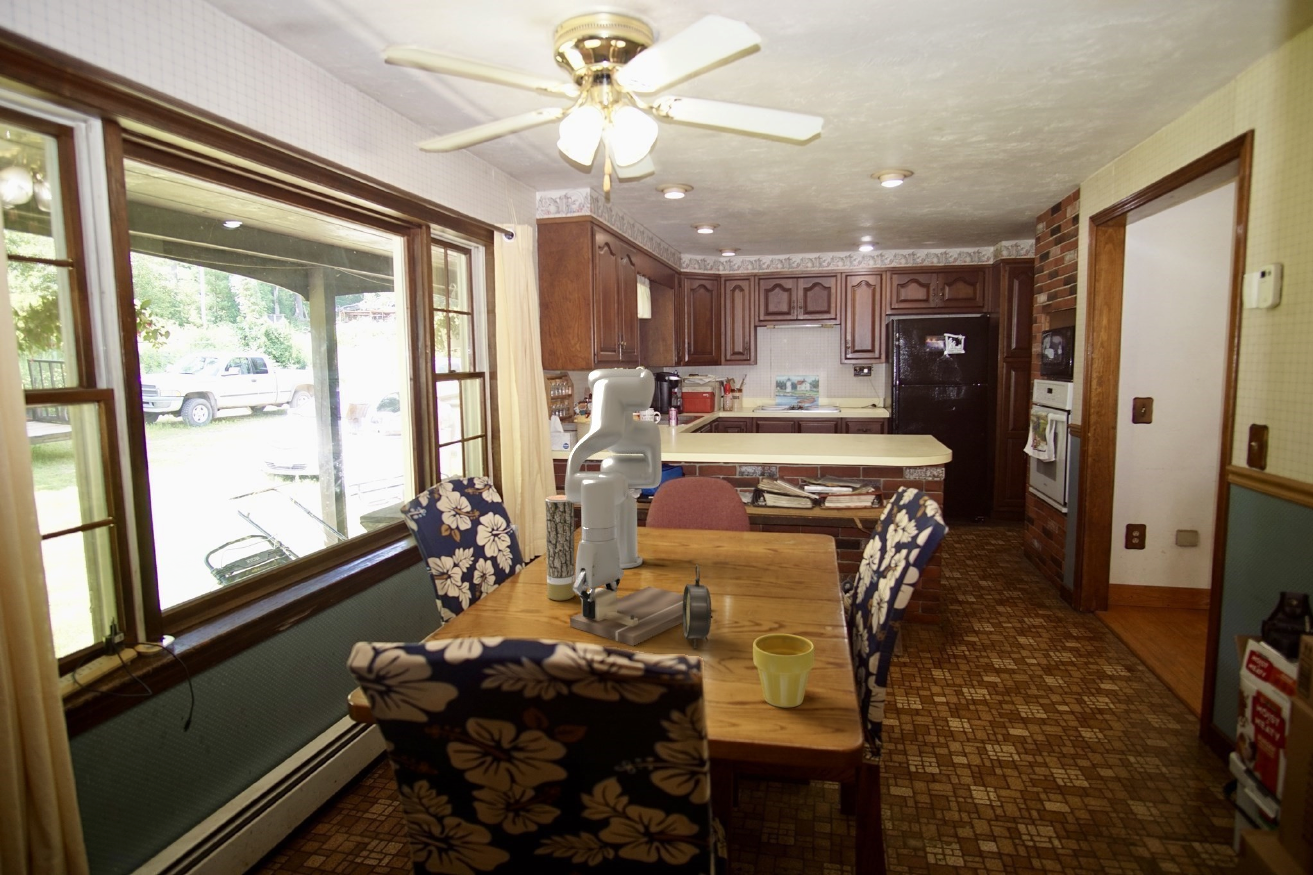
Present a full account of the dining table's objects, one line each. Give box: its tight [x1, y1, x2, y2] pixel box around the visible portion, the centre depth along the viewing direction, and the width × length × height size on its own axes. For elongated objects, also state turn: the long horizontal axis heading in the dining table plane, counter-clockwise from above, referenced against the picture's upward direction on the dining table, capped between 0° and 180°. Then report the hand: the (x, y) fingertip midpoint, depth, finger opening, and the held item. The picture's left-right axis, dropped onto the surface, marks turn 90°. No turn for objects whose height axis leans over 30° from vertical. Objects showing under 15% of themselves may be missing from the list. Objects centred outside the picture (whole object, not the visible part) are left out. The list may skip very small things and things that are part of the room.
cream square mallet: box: [581, 587, 638, 627], centre depth 154 cm, size 13×6×5 cm, turn 52°
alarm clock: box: [682, 564, 713, 651], centre depth 145 cm, size 11×5×16 cm, turn 5°
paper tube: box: [545, 494, 576, 601], centre depth 174 cm, size 7×7×25 cm
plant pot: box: [752, 633, 816, 708], centre depth 120 cm, size 10×10×10 cm
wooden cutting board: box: [569, 586, 684, 647], centre depth 160 cm, size 18×28×2 cm, turn 142°
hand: (599, 612), depth 156 cm, fingers closed on cream square mallet, 6 cm apart
